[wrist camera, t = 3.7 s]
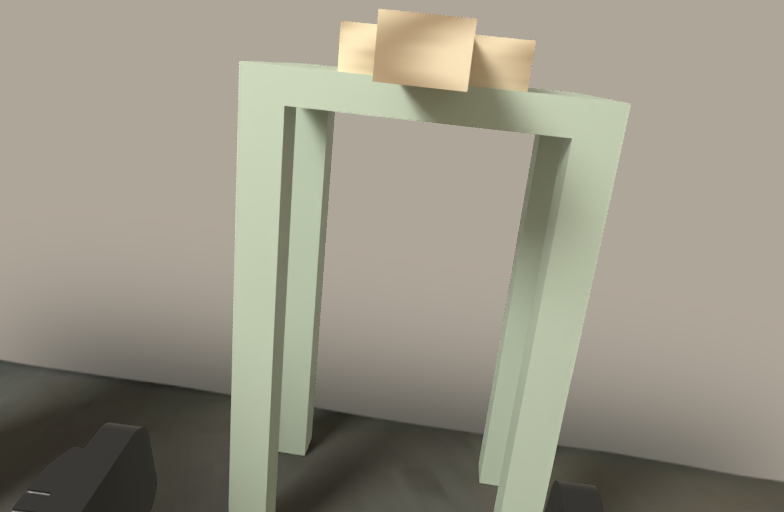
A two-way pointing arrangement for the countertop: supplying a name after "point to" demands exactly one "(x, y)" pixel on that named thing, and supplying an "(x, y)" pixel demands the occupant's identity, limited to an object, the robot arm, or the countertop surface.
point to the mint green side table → (307, 250)
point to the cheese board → (433, 53)
